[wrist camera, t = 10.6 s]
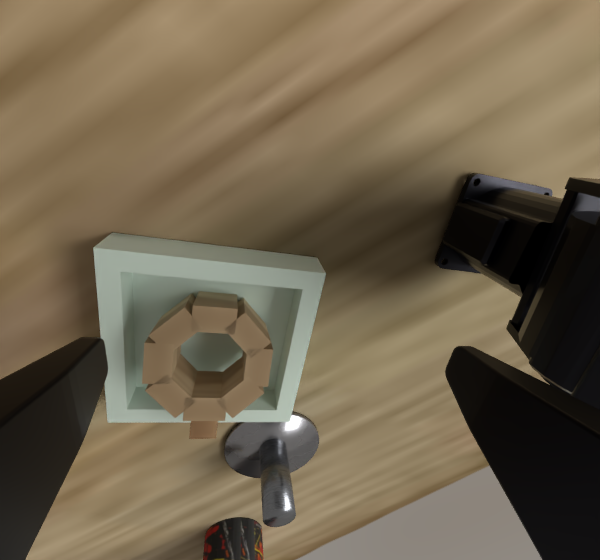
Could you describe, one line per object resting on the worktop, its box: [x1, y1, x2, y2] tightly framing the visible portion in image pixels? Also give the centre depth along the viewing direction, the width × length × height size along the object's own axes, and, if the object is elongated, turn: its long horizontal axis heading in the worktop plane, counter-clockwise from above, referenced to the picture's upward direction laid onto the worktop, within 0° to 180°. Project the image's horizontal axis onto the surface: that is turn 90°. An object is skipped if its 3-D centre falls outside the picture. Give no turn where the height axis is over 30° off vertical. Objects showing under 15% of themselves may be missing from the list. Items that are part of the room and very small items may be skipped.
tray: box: [93, 232, 326, 422], centre depth 21 cm, size 12×12×3 cm
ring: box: [142, 291, 273, 439], centre depth 20 cm, size 7×9×3 cm
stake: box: [224, 411, 319, 527], centre depth 26 cm, size 8×8×6 cm
